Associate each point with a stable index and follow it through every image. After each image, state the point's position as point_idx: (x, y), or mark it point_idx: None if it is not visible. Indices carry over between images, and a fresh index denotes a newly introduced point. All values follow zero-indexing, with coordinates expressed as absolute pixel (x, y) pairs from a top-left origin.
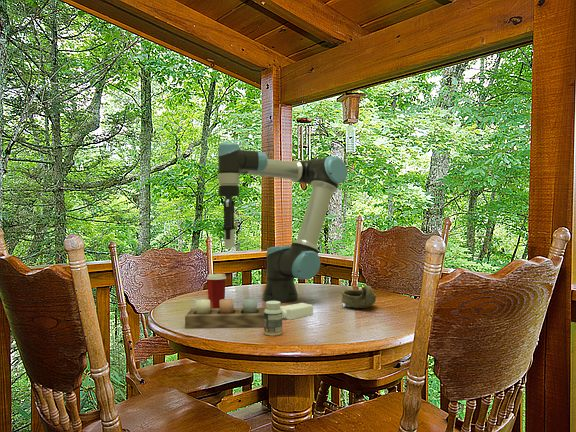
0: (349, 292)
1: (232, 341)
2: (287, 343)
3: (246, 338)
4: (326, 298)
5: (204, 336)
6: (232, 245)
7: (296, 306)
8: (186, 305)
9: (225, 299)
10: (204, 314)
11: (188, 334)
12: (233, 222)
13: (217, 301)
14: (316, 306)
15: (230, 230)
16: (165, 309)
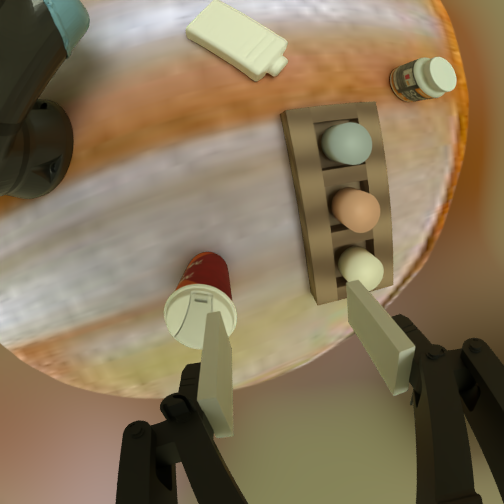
0: None
1: (452, 157)
2: None
3: (436, 134)
4: None
5: (429, 216)
6: (221, 324)
7: (248, 30)
8: (165, 356)
9: (353, 218)
10: (378, 250)
11: (418, 250)
12: (200, 458)
13: (227, 273)
14: (111, 25)
15: (414, 355)
16: None
